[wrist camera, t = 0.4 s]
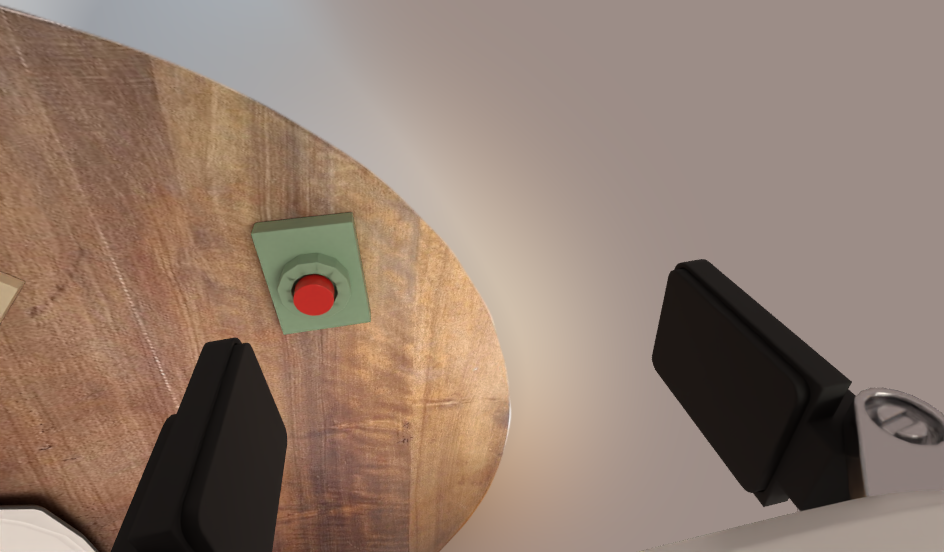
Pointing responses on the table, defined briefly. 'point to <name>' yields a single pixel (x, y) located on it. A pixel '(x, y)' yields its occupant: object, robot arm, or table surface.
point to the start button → (314, 295)
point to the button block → (313, 268)
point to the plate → (38, 531)
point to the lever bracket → (8, 292)
